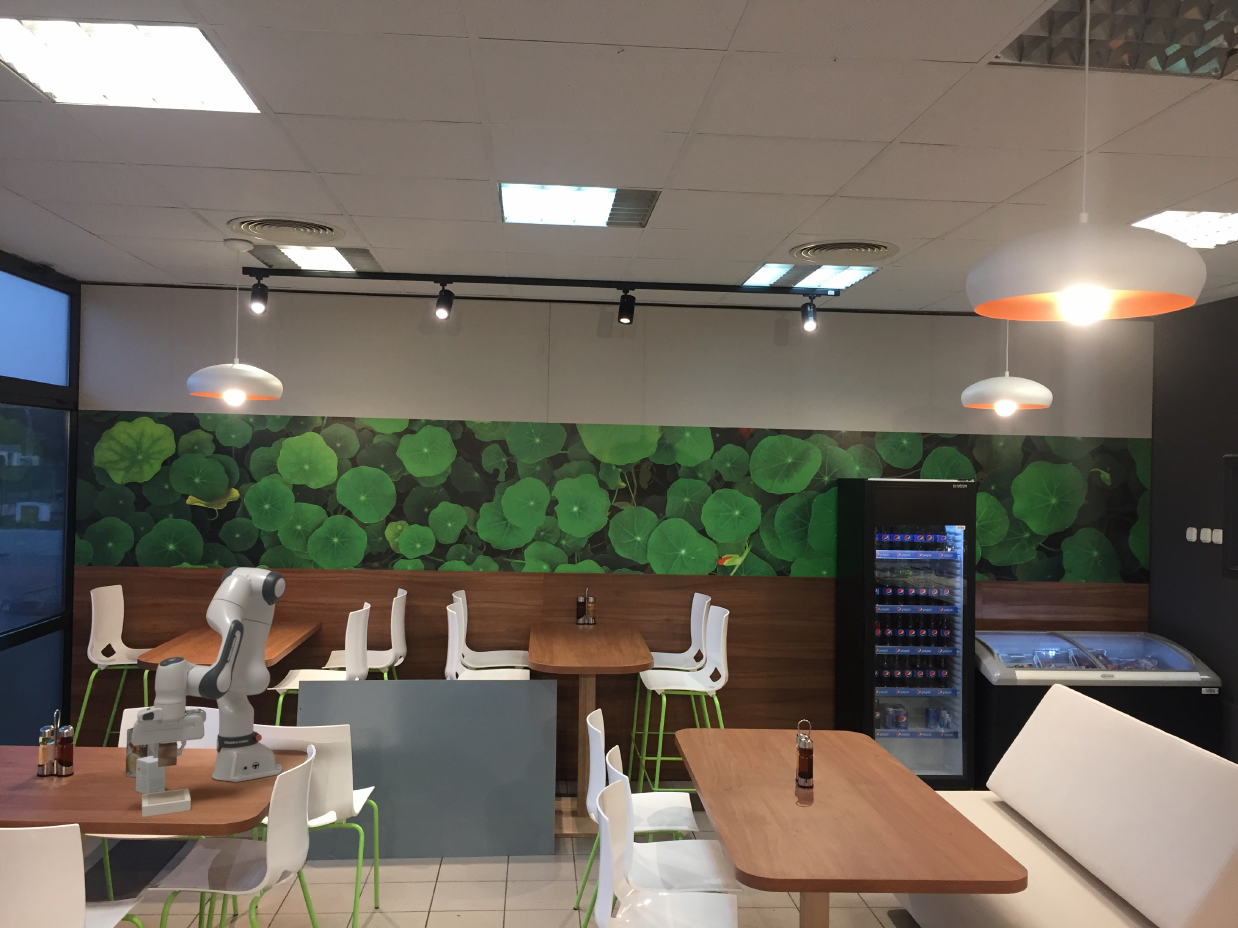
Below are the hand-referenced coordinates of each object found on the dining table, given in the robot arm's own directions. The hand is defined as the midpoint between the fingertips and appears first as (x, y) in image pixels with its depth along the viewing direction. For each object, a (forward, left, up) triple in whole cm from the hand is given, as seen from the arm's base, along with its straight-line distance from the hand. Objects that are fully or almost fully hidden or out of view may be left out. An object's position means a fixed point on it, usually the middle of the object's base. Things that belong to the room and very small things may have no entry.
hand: (167, 756), depth 269 cm
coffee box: (+6, -40, -16) cm, 43 cm away
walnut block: (0, 0, -2) cm, 2 cm away
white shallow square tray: (0, 0, -15) cm, 15 cm away
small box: (+4, -19, -16) cm, 25 cm away
